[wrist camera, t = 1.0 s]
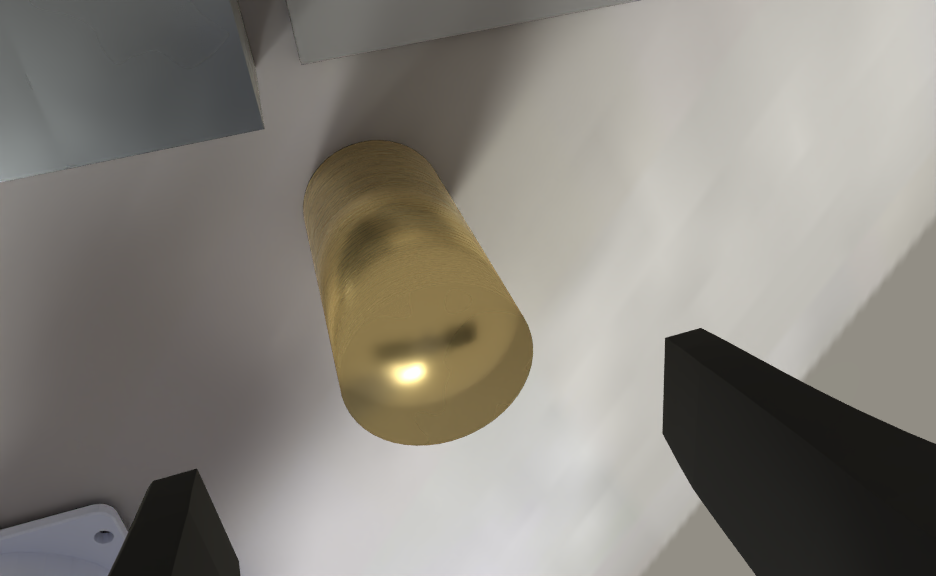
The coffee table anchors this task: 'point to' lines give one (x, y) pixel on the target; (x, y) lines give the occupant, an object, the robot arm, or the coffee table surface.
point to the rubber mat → (409, 21)
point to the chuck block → (119, 80)
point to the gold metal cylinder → (410, 299)
